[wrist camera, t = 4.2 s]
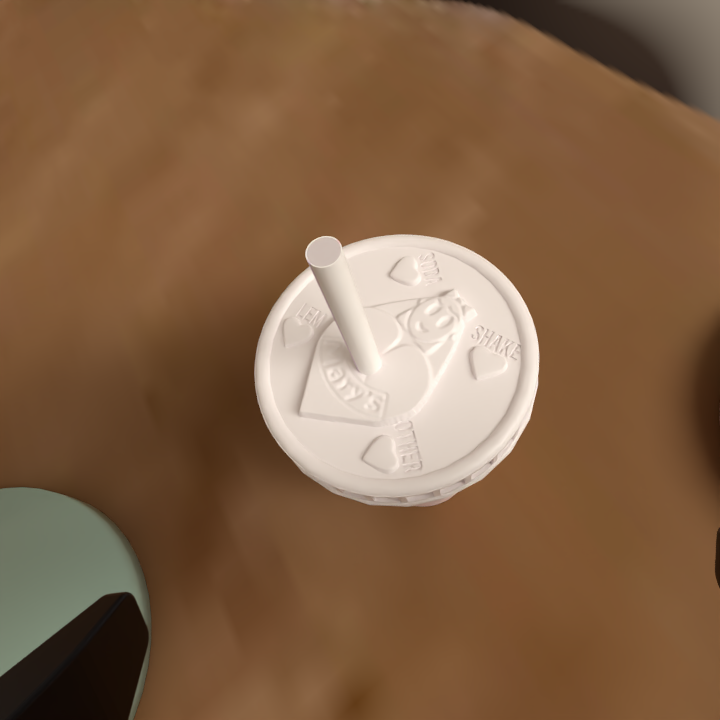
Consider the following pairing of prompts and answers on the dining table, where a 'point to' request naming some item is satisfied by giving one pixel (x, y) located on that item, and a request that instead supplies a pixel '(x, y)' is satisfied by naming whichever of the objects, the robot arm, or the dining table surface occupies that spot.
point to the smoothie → (397, 368)
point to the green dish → (59, 570)
